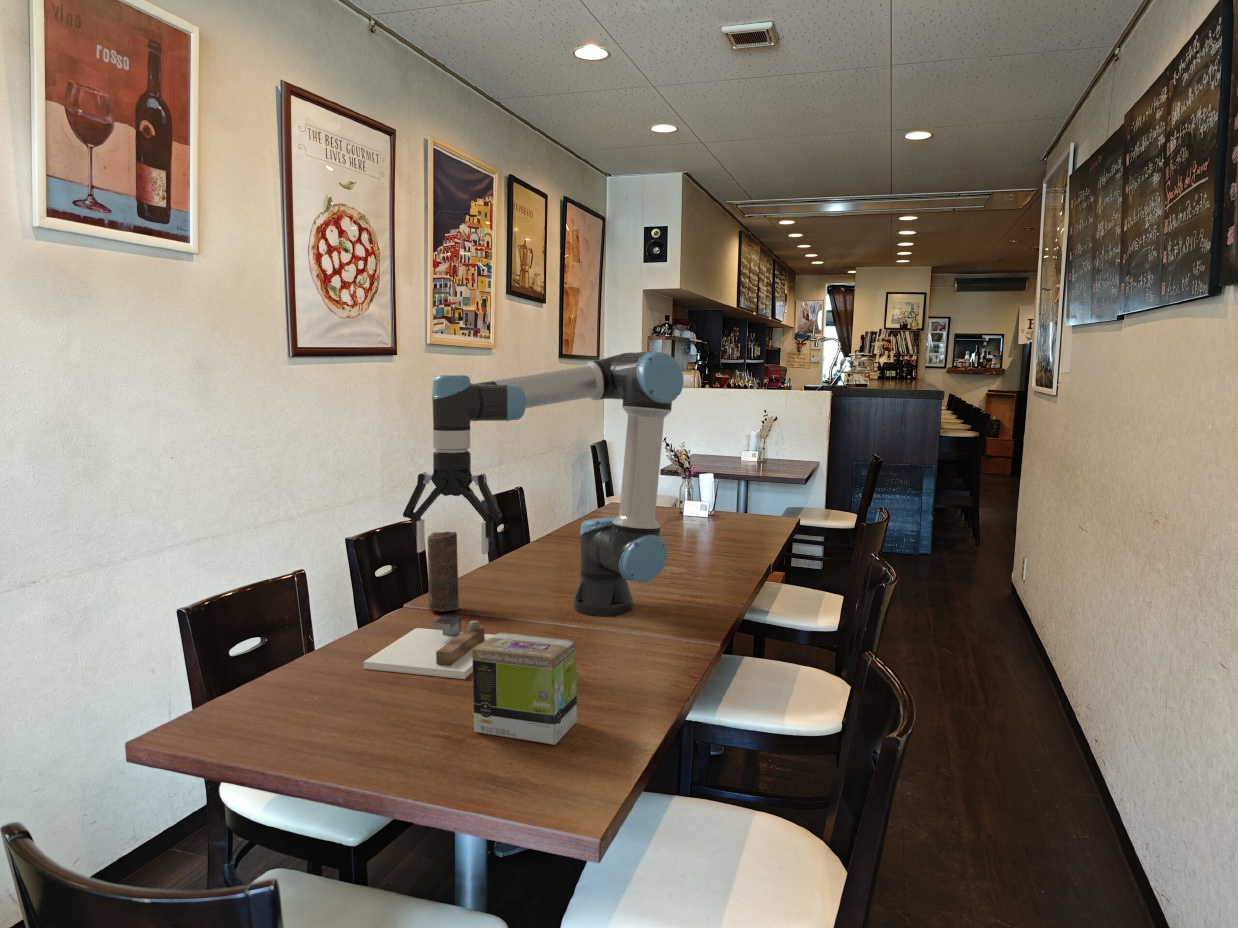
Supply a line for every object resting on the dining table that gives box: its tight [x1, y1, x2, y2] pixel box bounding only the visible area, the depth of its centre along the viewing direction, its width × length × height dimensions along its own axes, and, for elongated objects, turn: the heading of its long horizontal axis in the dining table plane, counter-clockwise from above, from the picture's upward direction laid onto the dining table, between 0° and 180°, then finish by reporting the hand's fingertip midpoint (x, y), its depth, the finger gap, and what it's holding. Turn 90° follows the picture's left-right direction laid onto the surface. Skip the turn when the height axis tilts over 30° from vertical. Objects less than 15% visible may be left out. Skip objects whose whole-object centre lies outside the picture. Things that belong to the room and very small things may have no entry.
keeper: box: [432, 614, 462, 636], centre depth 175 cm, size 4×6×4 cm
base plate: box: [363, 627, 495, 680], centre depth 169 cm, size 22×22×2 cm
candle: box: [427, 531, 460, 613], centre depth 199 cm, size 8×7×20 cm
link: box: [436, 620, 486, 665], centre depth 167 cm, size 17×4×4 cm, turn 166°
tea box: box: [472, 631, 578, 746], centre depth 134 cm, size 15×10×15 cm
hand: (452, 552), depth 166 cm, fingers open, 13 cm apart
